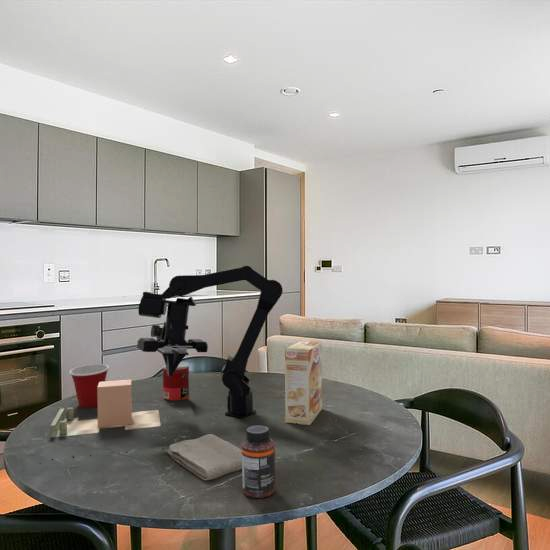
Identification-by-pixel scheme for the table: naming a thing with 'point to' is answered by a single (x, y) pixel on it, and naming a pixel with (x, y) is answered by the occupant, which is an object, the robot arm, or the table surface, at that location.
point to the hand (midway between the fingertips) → (169, 376)
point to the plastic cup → (88, 382)
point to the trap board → (76, 427)
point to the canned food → (176, 383)
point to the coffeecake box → (303, 382)
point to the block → (114, 403)
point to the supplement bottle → (258, 463)
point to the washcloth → (207, 456)
